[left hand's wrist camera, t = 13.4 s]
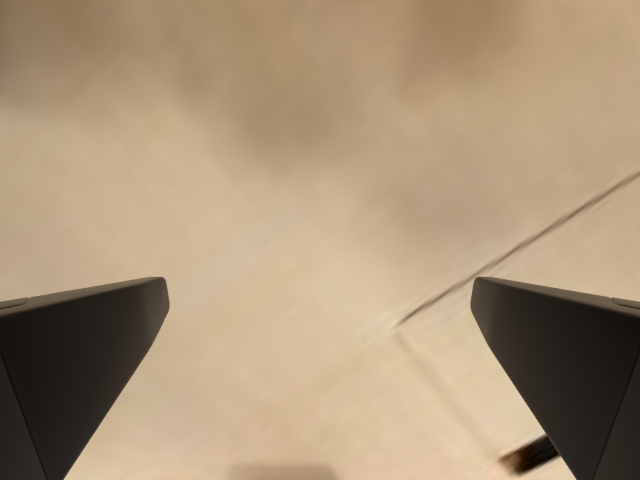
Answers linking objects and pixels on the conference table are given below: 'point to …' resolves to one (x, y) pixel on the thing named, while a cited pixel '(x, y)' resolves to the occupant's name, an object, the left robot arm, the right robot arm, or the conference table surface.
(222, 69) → the conference table surface
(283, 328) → the conference table surface
